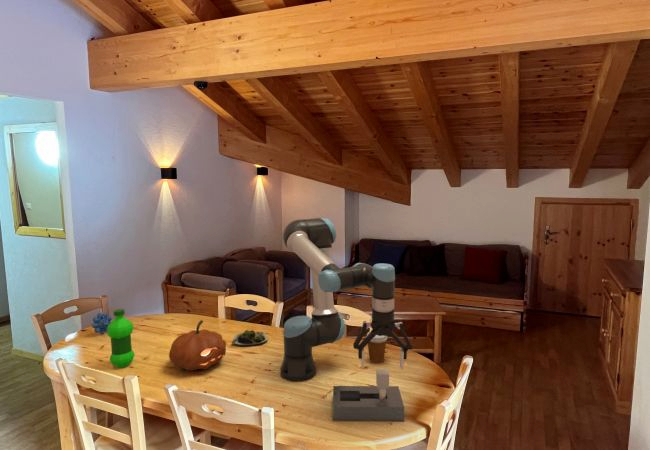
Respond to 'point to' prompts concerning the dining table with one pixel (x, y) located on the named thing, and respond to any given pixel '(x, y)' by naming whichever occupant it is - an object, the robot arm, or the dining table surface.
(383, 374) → the headed peg
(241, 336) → the salad plate
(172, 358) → the pumpkin
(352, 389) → the keyhole plate
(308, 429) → the dining table surface
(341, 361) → the dining table surface
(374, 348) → the disposable coffee cup
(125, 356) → the plastic bottle
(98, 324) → the grapes
